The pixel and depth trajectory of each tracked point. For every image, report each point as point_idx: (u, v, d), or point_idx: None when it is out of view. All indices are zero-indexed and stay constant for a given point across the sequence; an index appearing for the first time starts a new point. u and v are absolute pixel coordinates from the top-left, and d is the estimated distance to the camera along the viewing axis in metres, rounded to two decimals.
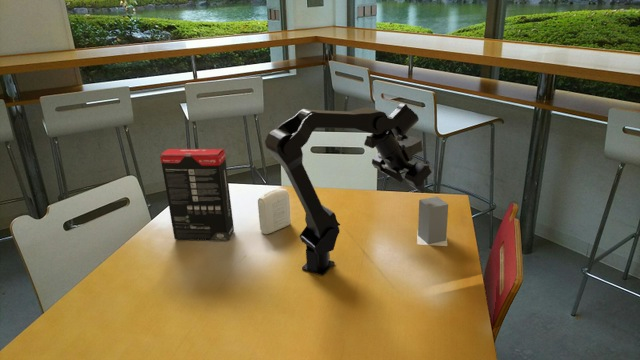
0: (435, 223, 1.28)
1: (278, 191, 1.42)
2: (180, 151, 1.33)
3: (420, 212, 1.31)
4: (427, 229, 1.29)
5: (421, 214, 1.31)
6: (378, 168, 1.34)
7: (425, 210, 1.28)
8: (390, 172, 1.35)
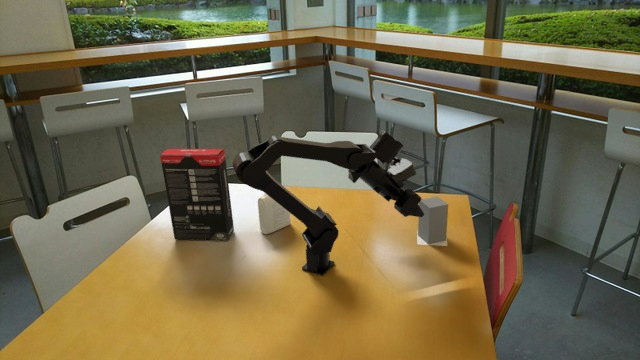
0: (435, 223, 1.28)
1: None
2: (180, 151, 1.33)
3: None
4: (427, 229, 1.29)
5: None
6: None
7: (425, 210, 1.28)
8: None
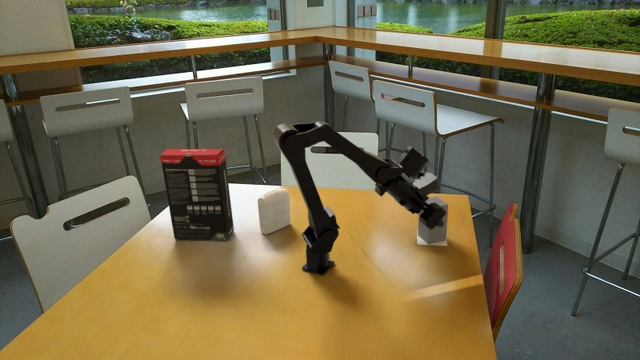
0: None
1: (278, 191, 1.42)
2: (180, 151, 1.33)
3: (420, 212, 1.31)
4: (427, 229, 1.29)
5: None
6: None
7: None
8: None
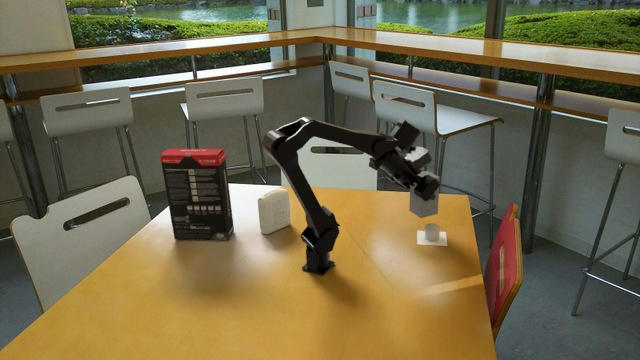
0: None
1: (278, 191, 1.42)
2: (180, 151, 1.33)
3: None
4: (419, 203, 1.30)
5: (413, 188, 1.32)
6: (391, 180, 1.34)
7: None
8: (408, 185, 1.33)
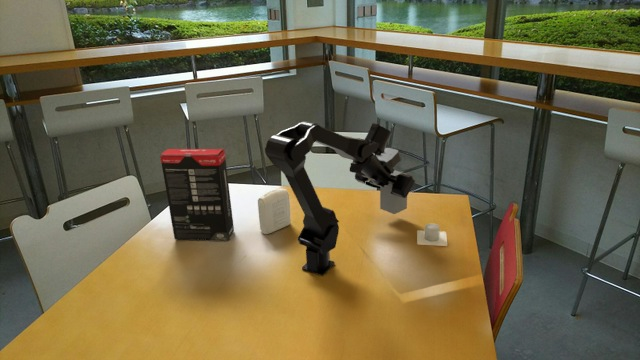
0: None
1: (278, 191, 1.42)
2: (180, 151, 1.33)
3: None
4: (392, 200, 1.39)
5: (384, 187, 1.40)
6: (362, 182, 1.41)
7: (389, 183, 1.38)
8: None
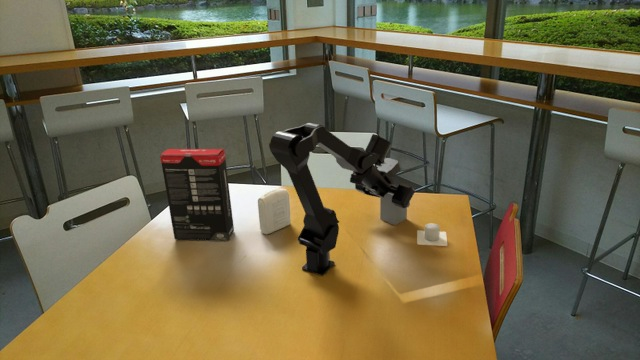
0: (399, 209, 1.41)
1: (278, 191, 1.42)
2: (180, 151, 1.33)
3: (382, 201, 1.42)
4: (392, 216, 1.41)
5: (384, 203, 1.42)
6: (362, 192, 1.42)
7: (389, 199, 1.40)
8: None
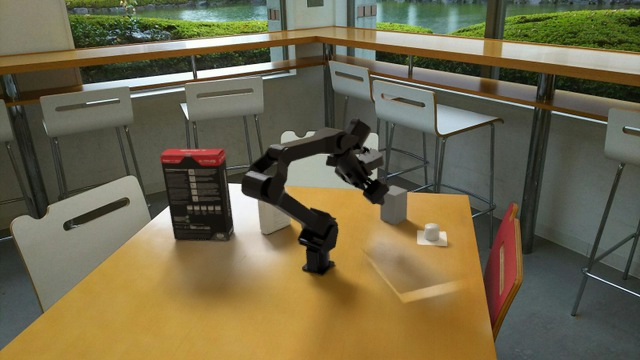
0: (399, 209, 1.41)
1: None
2: (180, 151, 1.33)
3: None
4: (392, 216, 1.41)
5: (384, 203, 1.42)
6: None
7: (389, 199, 1.40)
8: None
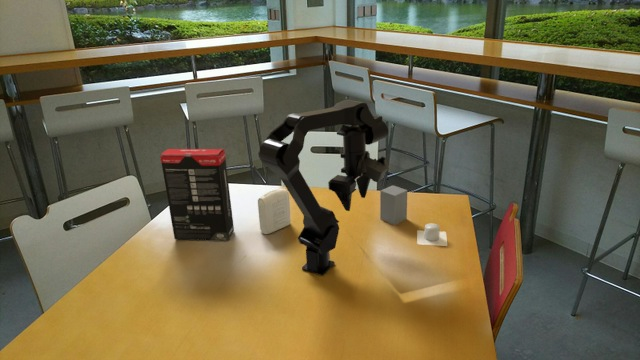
0: (399, 209, 1.41)
1: (278, 191, 1.42)
2: (180, 151, 1.33)
3: (382, 201, 1.42)
4: (392, 216, 1.41)
5: (384, 203, 1.42)
6: None
7: (389, 199, 1.40)
8: (359, 180, 1.32)
